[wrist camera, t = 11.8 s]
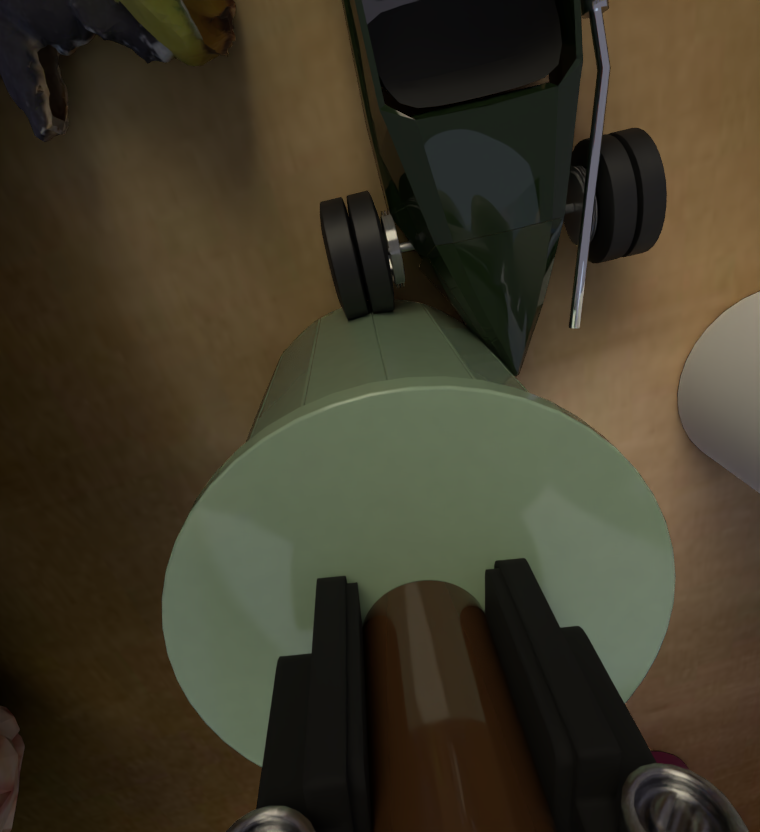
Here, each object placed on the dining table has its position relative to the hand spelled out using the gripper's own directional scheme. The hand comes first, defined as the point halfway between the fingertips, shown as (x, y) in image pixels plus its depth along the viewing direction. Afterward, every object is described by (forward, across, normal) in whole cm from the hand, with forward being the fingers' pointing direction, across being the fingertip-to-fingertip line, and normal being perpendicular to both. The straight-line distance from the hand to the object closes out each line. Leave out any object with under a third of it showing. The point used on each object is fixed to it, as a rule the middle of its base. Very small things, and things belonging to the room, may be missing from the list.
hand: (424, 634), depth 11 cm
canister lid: (+1, 0, 0) cm, 1 cm away
